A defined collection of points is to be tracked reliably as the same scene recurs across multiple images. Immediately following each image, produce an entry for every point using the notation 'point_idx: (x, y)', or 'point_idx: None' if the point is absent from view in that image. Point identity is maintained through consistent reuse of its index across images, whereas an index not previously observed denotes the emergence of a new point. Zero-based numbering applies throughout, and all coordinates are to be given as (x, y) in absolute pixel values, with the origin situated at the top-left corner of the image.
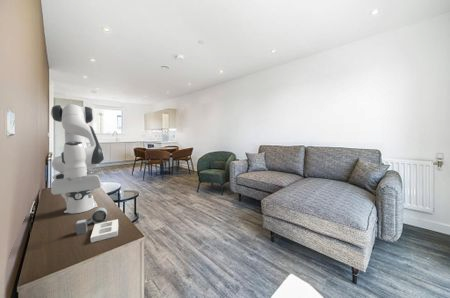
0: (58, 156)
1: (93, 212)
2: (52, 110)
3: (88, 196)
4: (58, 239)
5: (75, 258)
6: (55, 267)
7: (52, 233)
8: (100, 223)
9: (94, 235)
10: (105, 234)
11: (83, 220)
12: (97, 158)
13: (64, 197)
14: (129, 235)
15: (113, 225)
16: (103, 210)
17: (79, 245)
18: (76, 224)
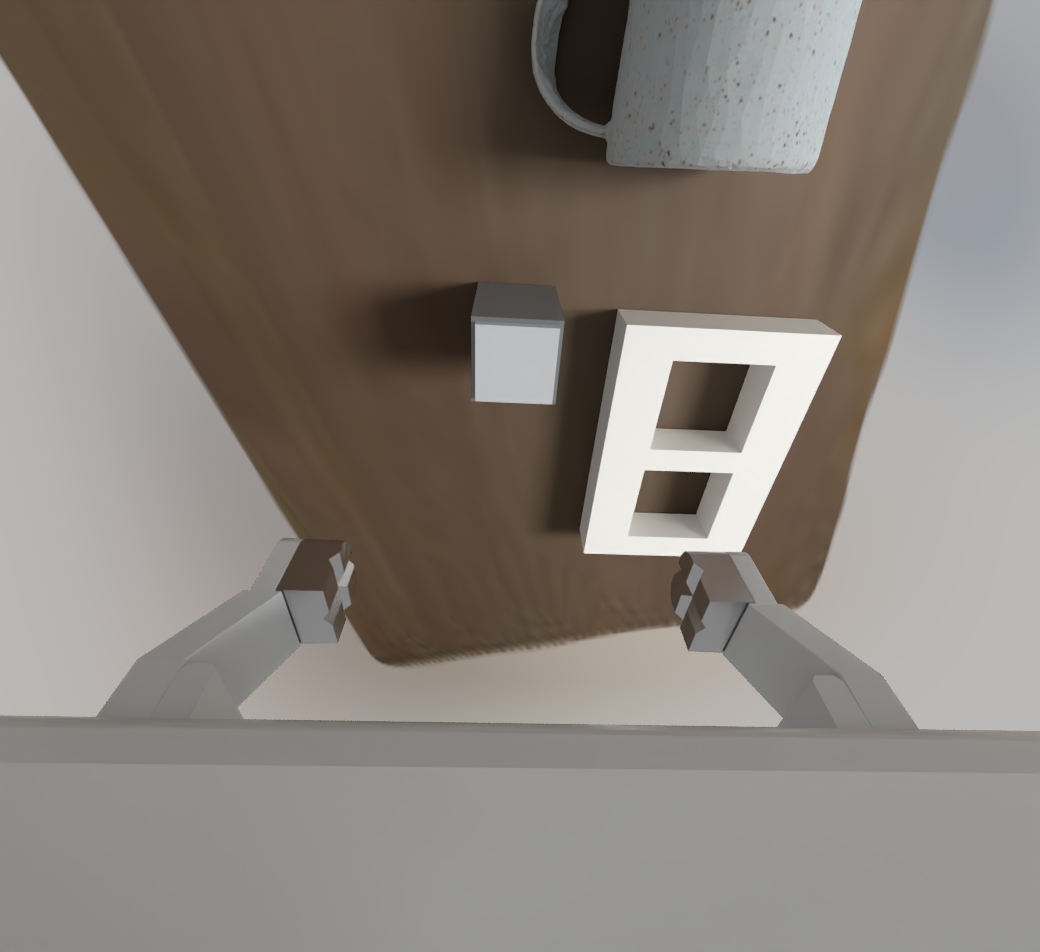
0: None
1: (663, 64)
2: None
3: (686, 626)
4: (351, 351)
5: (518, 618)
6: (454, 635)
7: (210, 132)
8: (675, 343)
9: (606, 540)
10: (666, 553)
11: (536, 355)
12: None
13: (259, 672)
14: (777, 560)
15: (751, 460)
16: (803, 163)
17: (520, 523)
18: (477, 399)
